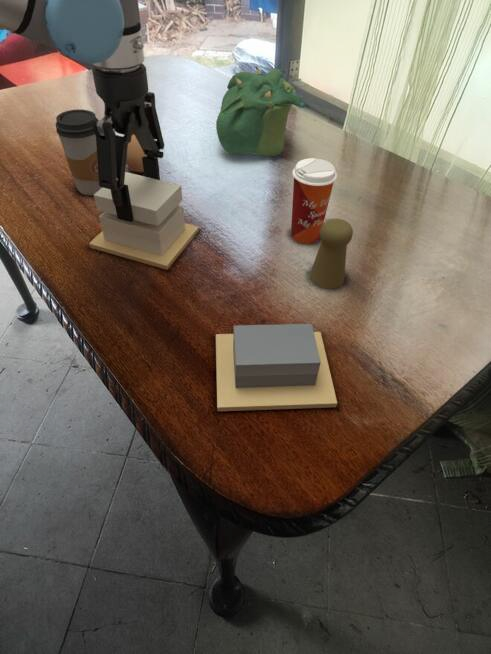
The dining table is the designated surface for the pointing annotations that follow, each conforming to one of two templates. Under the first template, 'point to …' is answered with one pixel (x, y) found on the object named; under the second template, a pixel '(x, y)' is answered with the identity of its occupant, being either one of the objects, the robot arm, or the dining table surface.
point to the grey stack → (272, 368)
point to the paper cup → (311, 198)
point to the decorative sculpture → (255, 113)
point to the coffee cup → (80, 148)
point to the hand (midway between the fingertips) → (140, 205)
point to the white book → (144, 198)
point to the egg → (135, 155)
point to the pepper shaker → (331, 254)
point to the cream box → (145, 238)
